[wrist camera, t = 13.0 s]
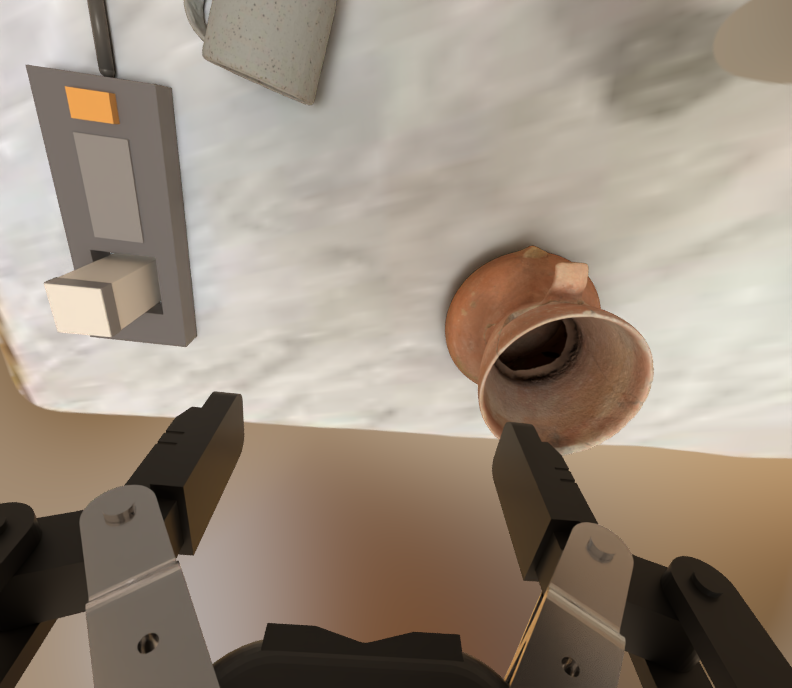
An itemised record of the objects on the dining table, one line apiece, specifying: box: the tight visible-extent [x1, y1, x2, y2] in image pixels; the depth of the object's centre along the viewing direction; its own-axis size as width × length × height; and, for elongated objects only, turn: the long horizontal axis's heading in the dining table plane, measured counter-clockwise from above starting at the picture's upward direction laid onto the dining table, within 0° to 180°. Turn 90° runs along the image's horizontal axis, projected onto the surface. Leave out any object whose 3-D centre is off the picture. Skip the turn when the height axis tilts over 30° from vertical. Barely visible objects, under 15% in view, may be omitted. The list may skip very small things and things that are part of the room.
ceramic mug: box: [184, 0, 337, 105], centre depth 27 cm, size 11×8×8 cm
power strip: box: [26, 0, 197, 347], centre depth 34 cm, size 29×9×3 cm, turn 172°
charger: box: [44, 253, 162, 337], centre depth 35 cm, size 4×4×9 cm
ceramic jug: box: [445, 246, 654, 456], centre depth 35 cm, size 18×14×14 cm
